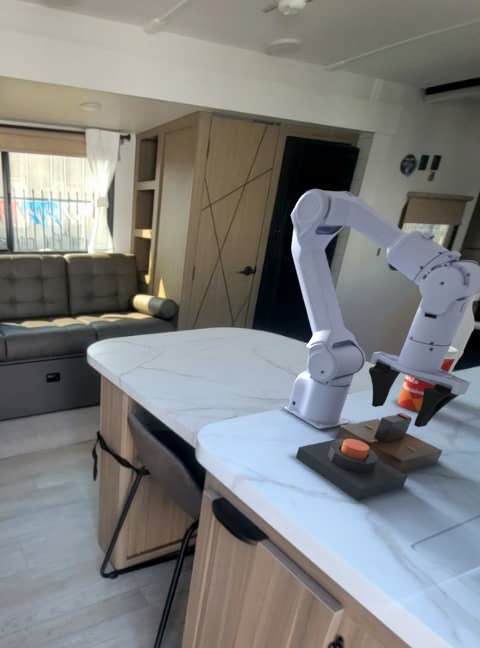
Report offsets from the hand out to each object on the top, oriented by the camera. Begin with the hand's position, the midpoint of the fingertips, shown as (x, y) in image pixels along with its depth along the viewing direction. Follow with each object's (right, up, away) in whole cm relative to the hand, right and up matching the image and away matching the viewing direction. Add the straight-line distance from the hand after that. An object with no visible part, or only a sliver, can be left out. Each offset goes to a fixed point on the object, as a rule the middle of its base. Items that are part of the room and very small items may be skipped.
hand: (397, 415), depth 71 cm
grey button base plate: (-11, -9, -4) cm, 15 cm away
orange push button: (-11, -6, -5) cm, 14 cm away
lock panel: (0, -6, +3) cm, 7 cm away
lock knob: (0, -4, +2) cm, 5 cm away
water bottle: (+26, +4, +27) cm, 38 cm away
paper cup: (+18, +1, +20) cm, 27 cm away
